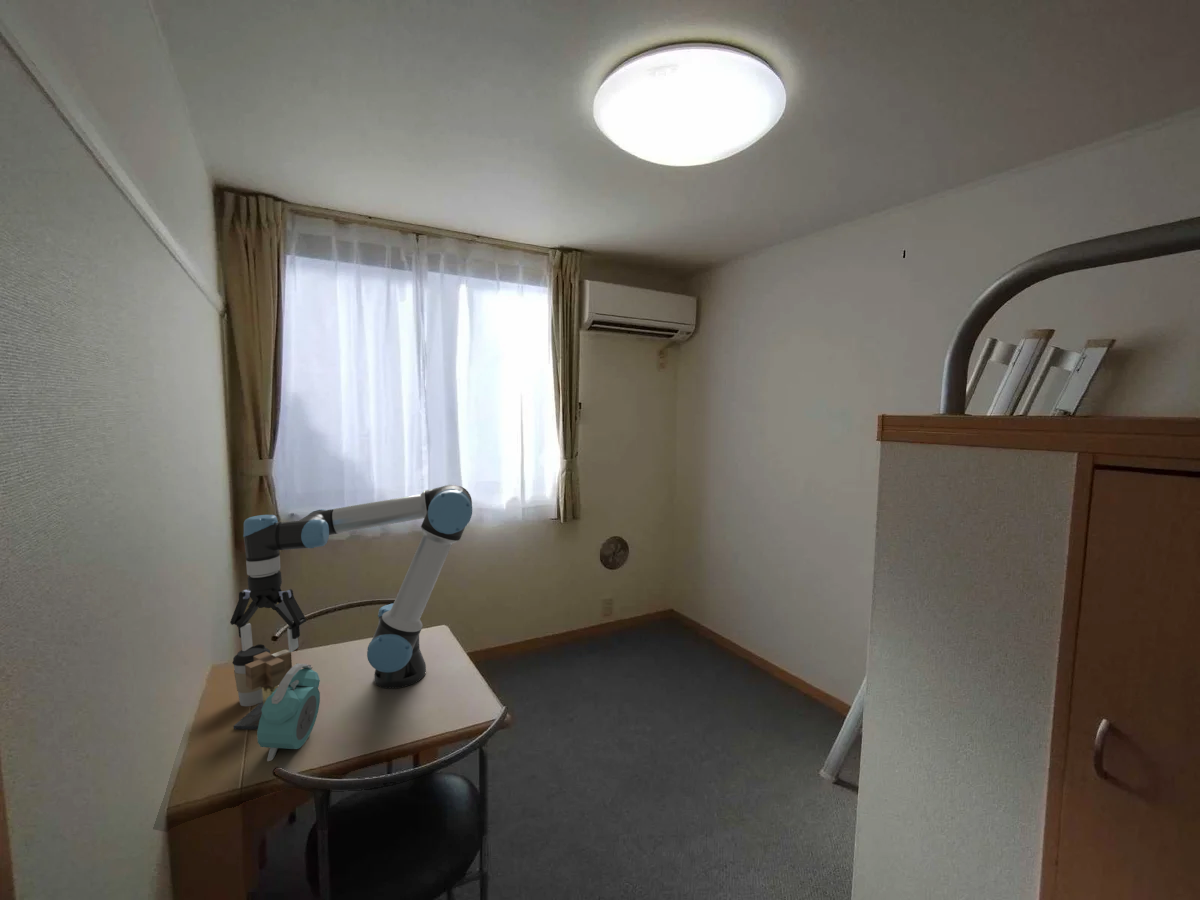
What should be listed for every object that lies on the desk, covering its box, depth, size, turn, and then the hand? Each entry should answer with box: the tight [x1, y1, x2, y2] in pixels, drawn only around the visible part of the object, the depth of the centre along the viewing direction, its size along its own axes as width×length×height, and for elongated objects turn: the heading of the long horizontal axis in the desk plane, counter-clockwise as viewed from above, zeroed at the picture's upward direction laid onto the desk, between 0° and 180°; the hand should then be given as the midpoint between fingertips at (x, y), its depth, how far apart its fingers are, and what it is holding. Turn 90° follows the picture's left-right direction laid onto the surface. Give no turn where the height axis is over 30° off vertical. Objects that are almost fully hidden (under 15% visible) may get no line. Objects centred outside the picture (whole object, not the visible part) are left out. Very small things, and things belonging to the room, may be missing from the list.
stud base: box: [232, 685, 279, 731], centre depth 136 cm, size 12×12×9 cm
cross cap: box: [245, 649, 293, 690], centre depth 135 cm, size 10×10×7 cm
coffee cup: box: [232, 643, 272, 707], centre depth 143 cm, size 9×9×15 cm
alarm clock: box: [256, 663, 321, 762], centre depth 124 cm, size 17×10×20 cm, turn 5°
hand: (270, 649), depth 135 cm, fingers open, 13 cm apart
